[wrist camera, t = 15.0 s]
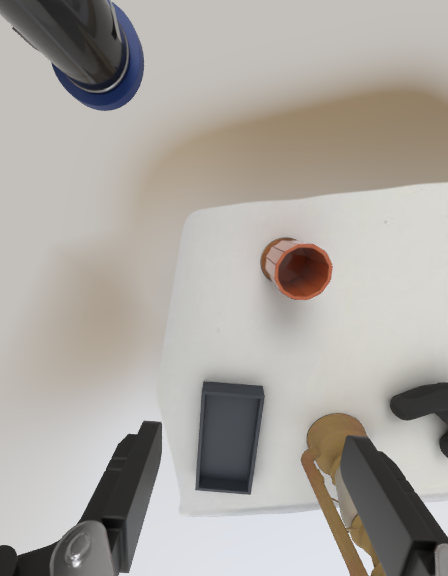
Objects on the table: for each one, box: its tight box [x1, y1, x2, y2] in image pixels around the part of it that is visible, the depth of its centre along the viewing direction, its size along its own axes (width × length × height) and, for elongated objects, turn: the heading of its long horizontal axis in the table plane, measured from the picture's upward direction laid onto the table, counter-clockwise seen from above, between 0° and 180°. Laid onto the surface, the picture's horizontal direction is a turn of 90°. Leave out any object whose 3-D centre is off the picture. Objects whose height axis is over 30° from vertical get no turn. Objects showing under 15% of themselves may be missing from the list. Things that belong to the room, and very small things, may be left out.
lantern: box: [301, 413, 386, 576], centre depth 30 cm, size 15×10×30 cm
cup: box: [264, 240, 332, 300], centre depth 32 cm, size 6×6×9 cm
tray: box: [195, 381, 265, 495], centre depth 43 cm, size 21×10×3 cm, turn 175°
